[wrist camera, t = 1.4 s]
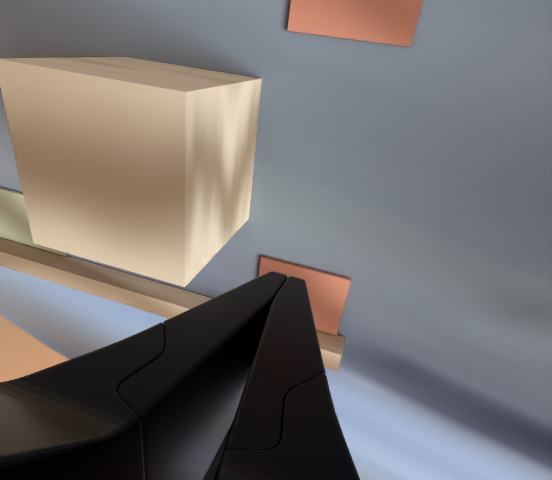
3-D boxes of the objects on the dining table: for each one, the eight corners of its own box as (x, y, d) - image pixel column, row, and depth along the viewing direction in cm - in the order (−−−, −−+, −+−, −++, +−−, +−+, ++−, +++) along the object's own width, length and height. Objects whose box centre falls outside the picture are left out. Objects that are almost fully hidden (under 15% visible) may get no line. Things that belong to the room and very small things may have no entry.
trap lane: (341, 352, 22) (337, 370, 21) (-74, 227, 29) (-96, 235, 27) (471, -126, 12) (478, -147, 11) (-209, -153, 19) (-254, -168, 18)
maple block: (249, 218, 20) (184, 287, 14) (135, 190, 22) (33, 243, 16) (262, 78, 17) (185, 92, 11) (127, 56, 18) (-6, 58, 12)
